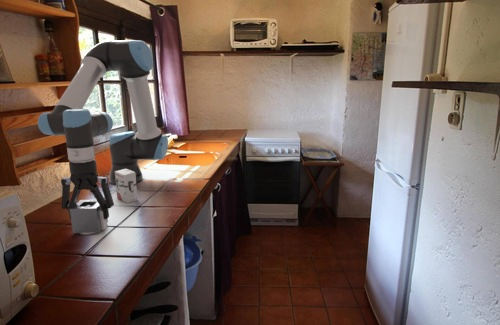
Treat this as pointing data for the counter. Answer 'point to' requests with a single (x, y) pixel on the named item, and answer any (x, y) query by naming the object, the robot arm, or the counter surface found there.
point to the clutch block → (86, 217)
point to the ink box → (126, 185)
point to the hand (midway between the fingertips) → (90, 228)
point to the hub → (89, 233)
